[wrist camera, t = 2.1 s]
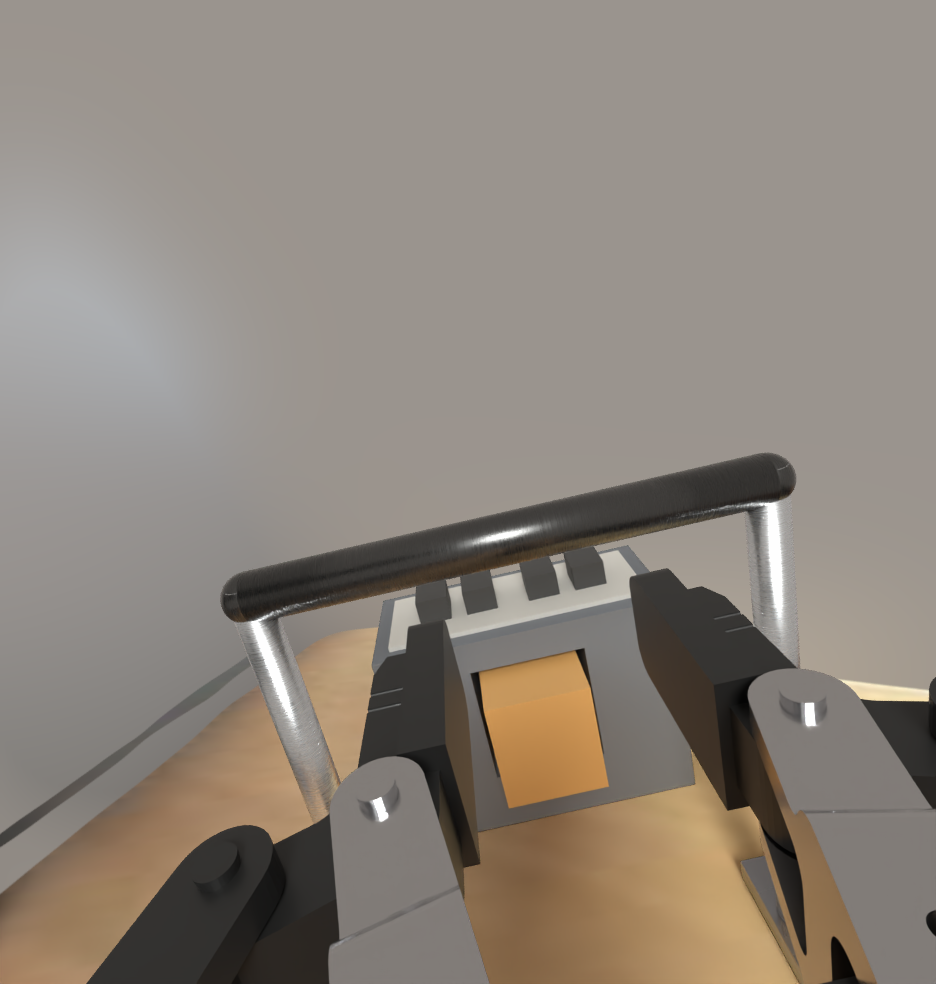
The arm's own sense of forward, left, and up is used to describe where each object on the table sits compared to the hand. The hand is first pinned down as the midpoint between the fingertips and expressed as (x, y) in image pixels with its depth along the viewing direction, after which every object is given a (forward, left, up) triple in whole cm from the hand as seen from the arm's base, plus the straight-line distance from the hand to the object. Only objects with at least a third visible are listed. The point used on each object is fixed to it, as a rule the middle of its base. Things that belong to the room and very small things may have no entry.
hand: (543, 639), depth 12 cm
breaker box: (0, +24, -26) cm, 35 cm away
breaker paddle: (0, +19, -22) cm, 29 cm away
